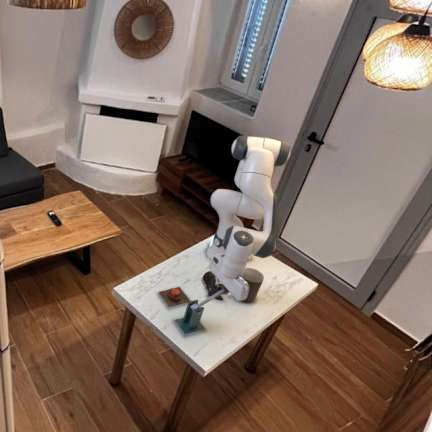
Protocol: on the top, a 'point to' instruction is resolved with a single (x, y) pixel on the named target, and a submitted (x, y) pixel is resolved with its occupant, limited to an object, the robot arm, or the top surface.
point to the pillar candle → (252, 283)
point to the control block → (173, 300)
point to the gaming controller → (214, 291)
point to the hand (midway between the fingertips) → (223, 291)
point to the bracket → (191, 319)
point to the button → (175, 292)
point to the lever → (209, 298)
